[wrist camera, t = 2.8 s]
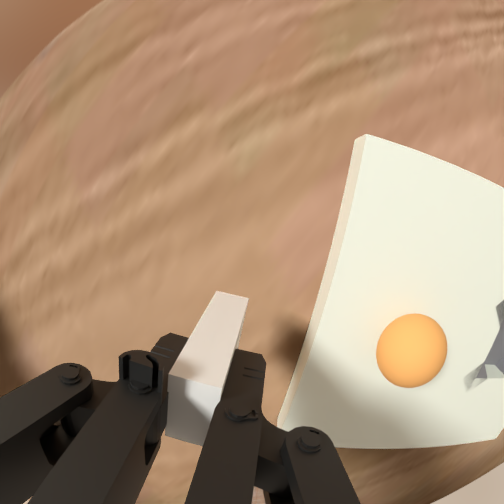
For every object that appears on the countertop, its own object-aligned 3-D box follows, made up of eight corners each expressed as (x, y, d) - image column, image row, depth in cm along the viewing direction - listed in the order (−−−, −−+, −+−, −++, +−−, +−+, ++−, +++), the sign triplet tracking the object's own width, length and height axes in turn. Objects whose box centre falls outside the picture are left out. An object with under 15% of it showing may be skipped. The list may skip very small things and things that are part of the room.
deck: (277, 418, 21) (276, 440, 19) (354, 139, 16) (366, 133, 14) (485, 423, 20) (495, 438, 18) (568, 231, 15) (586, 237, 13)
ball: (358, 358, 17) (374, 401, 13) (382, 296, 16) (407, 329, 12) (414, 364, 17) (438, 403, 13) (439, 307, 16) (471, 338, 12)
